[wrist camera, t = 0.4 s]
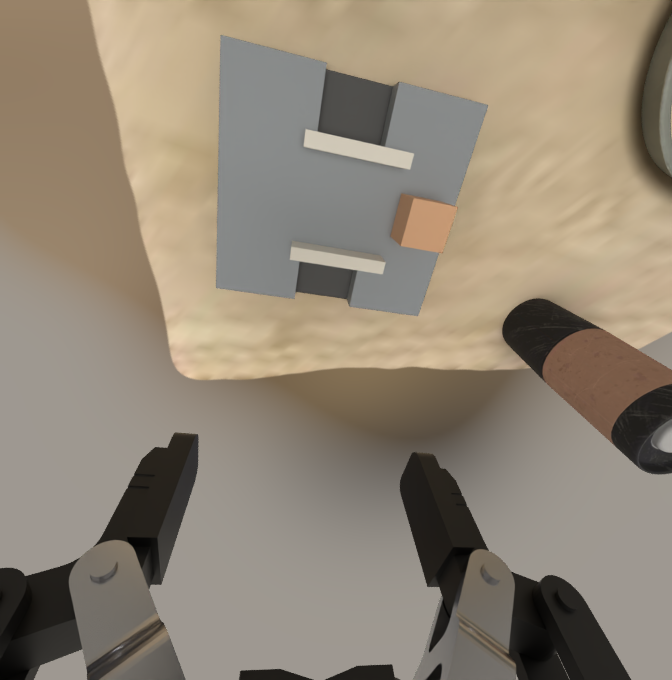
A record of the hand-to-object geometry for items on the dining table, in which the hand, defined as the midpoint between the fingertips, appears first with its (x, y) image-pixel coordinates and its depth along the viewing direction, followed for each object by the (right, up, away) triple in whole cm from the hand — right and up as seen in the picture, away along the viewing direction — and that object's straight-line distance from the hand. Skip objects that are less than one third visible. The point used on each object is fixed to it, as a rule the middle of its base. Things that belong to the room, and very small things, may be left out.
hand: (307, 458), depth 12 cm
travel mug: (+26, +7, +30) cm, 40 cm away
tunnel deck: (+1, +18, +21) cm, 28 cm away
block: (+9, +16, +20) cm, 27 cm away
